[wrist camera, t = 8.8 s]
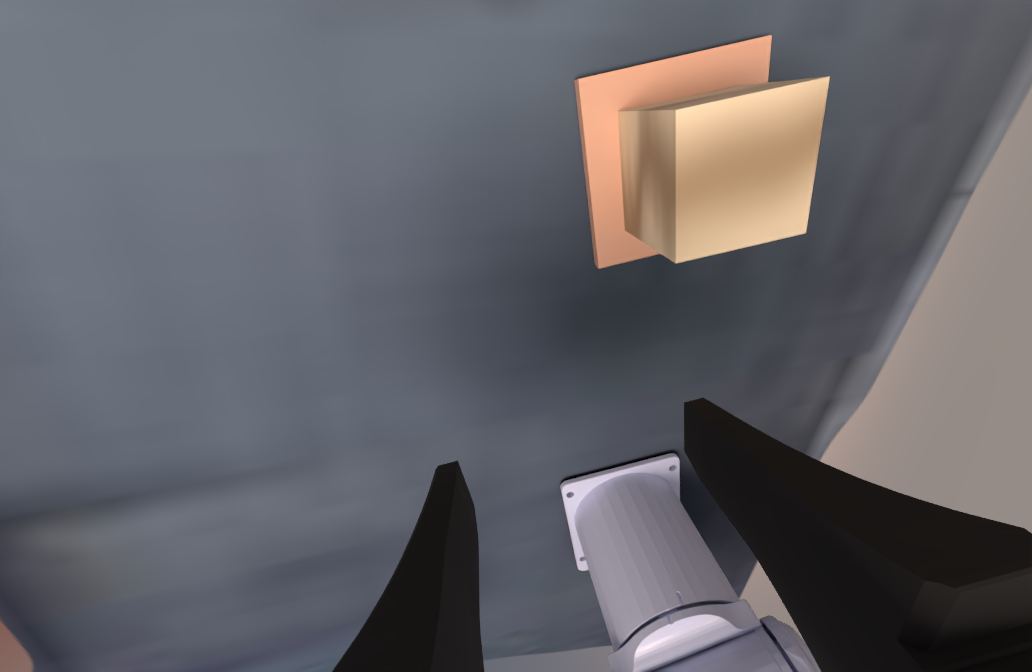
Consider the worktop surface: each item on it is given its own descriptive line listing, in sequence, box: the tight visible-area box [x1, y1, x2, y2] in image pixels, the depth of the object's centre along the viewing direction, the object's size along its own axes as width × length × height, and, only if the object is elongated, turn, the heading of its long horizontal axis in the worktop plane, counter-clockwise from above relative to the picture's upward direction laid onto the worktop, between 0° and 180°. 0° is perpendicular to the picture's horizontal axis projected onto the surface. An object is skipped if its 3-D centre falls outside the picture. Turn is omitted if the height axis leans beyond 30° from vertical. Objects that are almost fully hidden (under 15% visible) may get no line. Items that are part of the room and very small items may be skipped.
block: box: [618, 76, 830, 263], centre depth 16 cm, size 5×5×5 cm
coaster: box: [574, 35, 772, 269], centre depth 19 cm, size 8×8×1 cm
